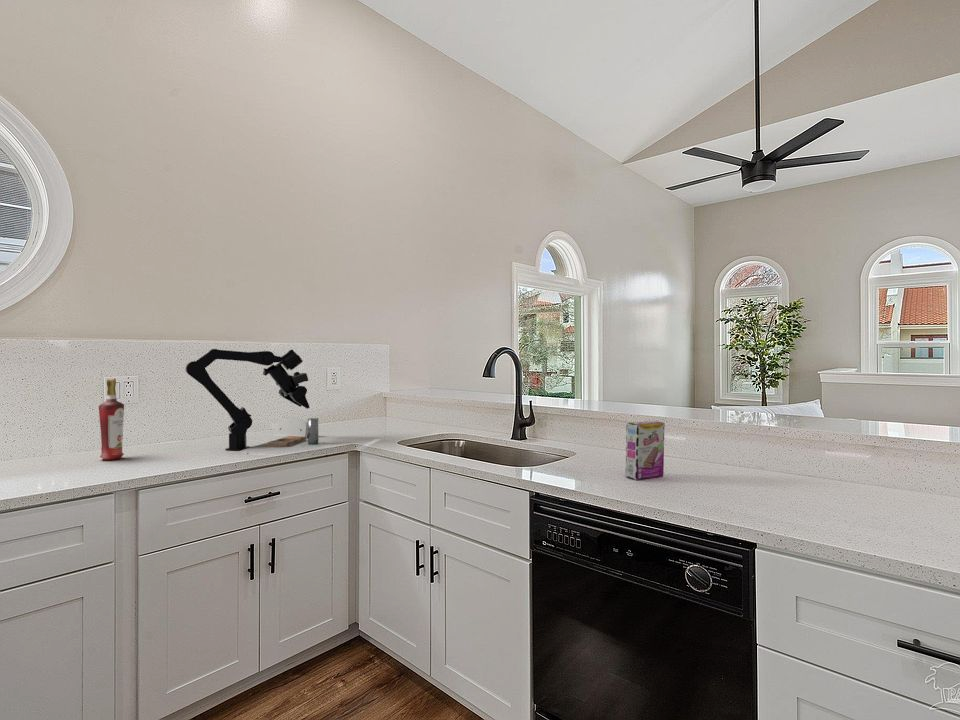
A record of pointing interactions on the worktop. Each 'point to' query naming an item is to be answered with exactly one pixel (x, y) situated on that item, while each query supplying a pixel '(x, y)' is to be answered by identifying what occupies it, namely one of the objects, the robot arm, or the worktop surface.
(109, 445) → the liquor
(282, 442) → the brown slotted block
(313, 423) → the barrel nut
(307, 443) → the pale green square plate
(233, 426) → the robot arm
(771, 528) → the worktop surface
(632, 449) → the candy bar box
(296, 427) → the white game console
